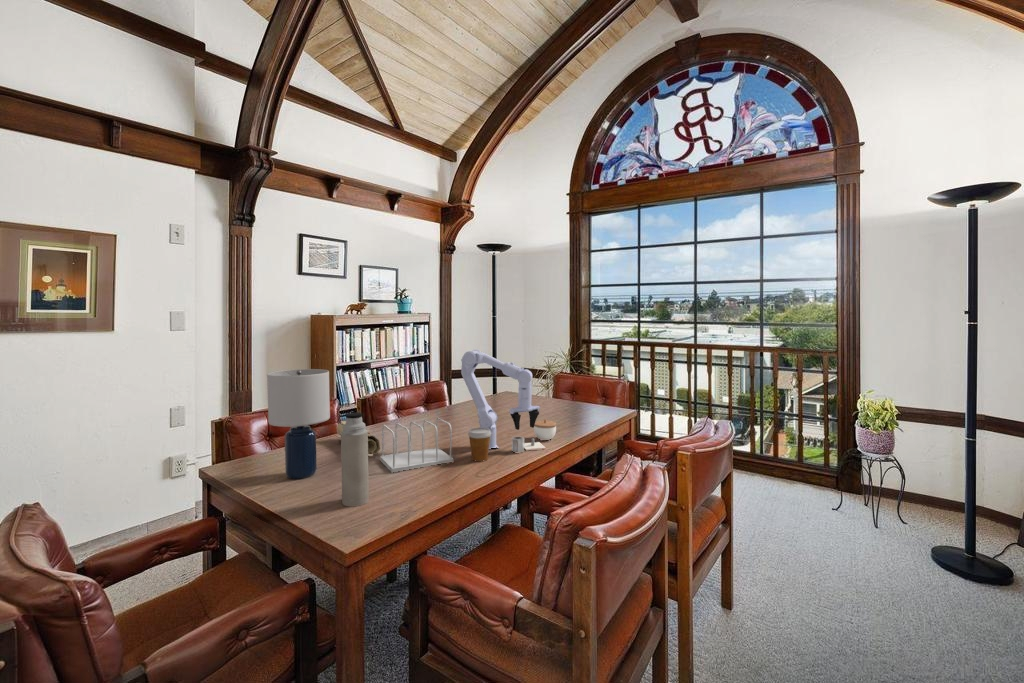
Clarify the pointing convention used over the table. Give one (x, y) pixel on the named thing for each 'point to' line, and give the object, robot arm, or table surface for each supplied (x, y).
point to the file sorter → (414, 452)
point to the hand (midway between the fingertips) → (524, 428)
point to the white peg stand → (533, 445)
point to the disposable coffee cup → (479, 443)
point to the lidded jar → (545, 429)
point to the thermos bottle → (354, 461)
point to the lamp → (299, 414)
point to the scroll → (372, 440)
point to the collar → (517, 444)
